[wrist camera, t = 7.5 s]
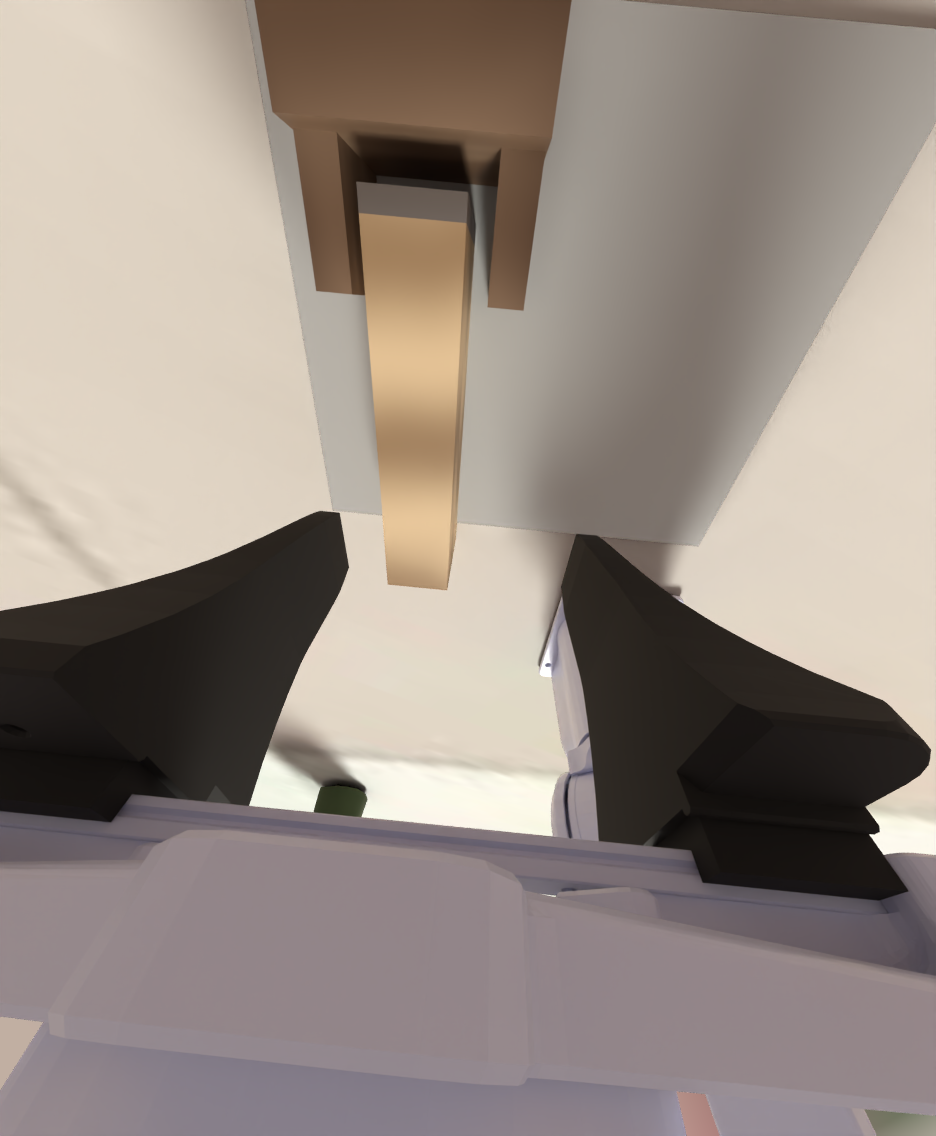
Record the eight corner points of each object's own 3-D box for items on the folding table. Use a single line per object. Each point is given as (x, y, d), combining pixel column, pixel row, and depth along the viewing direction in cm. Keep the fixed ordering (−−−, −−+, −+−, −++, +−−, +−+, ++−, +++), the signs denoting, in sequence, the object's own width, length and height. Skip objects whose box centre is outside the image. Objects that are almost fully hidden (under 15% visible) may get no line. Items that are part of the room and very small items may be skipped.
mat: (695, 542, 21) (698, 546, 21) (335, 507, 22) (332, 510, 21) (970, 41, 11) (985, 33, 10) (247, -25, 11) (239, -35, 10)
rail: (455, 537, 22) (446, 590, 18) (407, 533, 22) (387, 584, 18) (476, 225, 13) (467, 192, 9) (397, 218, 13) (356, 181, 9)
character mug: (296, 775, 45) (236, 916, 35) (338, 766, 43) (287, 914, 32) (350, 808, 51) (313, 938, 40) (390, 801, 48) (362, 938, 38)
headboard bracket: (518, 309, 15) (527, 311, 11) (353, 294, 15) (301, 289, 11) (552, 51, 11) (585, -94, 7) (328, 30, 11) (233, -126, 7)
